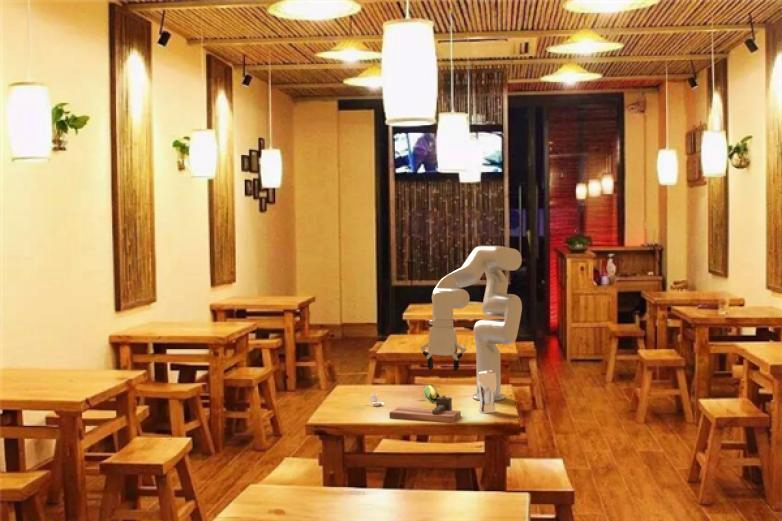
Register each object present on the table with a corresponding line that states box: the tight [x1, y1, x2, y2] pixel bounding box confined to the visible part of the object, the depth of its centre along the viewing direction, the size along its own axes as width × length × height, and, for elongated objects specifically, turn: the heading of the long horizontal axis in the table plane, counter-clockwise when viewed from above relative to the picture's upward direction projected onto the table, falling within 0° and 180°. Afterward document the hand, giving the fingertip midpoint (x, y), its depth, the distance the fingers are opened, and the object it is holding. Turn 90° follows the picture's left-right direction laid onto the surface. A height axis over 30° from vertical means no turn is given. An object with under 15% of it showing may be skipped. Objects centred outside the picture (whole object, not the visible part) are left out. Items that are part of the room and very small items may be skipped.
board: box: [389, 406, 462, 423], centre depth 355 cm, size 10×24×2 cm, turn 69°
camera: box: [432, 394, 453, 415], centre depth 356 cm, size 12×5×7 cm, turn 159°
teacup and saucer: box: [369, 393, 386, 407], centre depth 380 cm, size 9×8×4 cm
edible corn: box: [423, 384, 441, 404], centre depth 388 cm, size 5×20×5 cm, turn 6°
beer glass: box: [478, 370, 496, 414], centre depth 363 cm, size 7×7×15 cm
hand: (443, 370), depth 359 cm, fingers open, 9 cm apart
